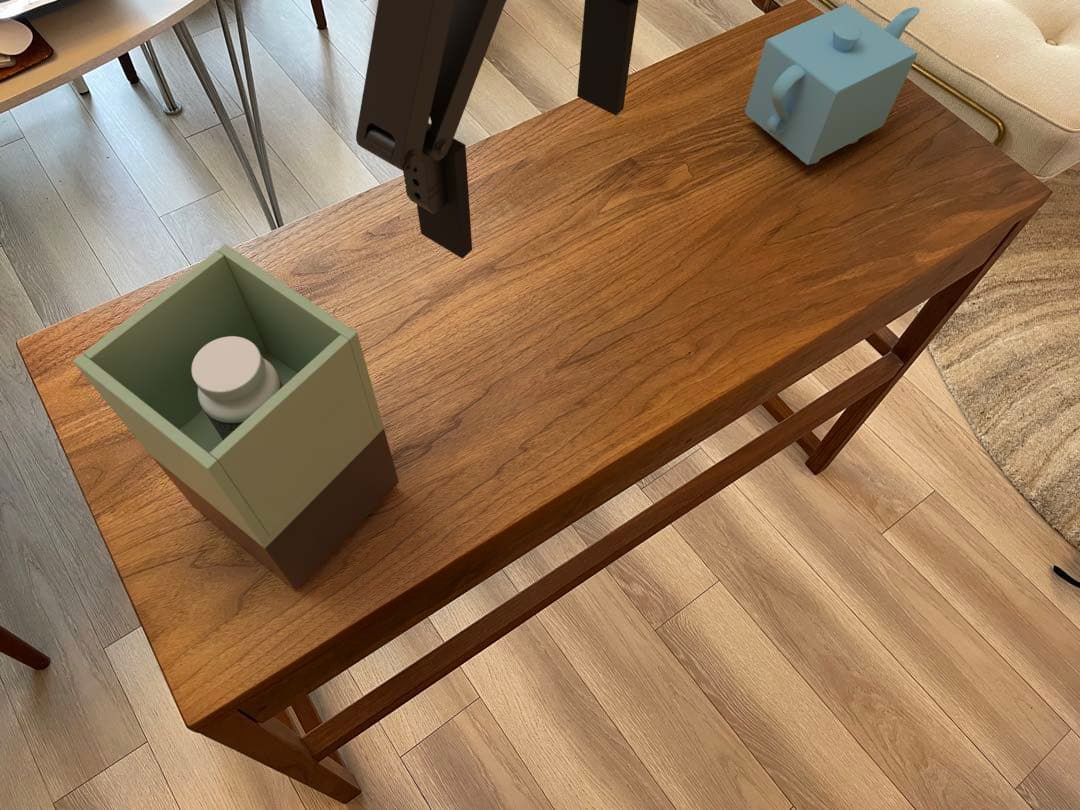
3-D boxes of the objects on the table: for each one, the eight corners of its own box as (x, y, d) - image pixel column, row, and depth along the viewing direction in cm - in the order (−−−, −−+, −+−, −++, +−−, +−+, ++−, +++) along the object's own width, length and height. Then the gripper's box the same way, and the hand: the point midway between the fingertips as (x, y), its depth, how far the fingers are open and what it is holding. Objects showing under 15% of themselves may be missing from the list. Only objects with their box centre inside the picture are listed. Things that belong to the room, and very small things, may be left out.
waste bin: (296, 592, 68) (207, 469, 48) (193, 506, 71) (71, 360, 52) (399, 482, 73) (357, 332, 54) (298, 408, 77) (225, 243, 57)
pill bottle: (315, 439, 63) (284, 369, 54) (251, 480, 61) (208, 414, 52) (277, 392, 65) (242, 317, 57) (214, 430, 63) (167, 358, 55)
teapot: (786, 185, 95) (825, 85, 83) (724, 132, 100) (752, 30, 88) (910, 119, 102) (962, 18, 90) (847, 73, 107) (888, -29, 95)
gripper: (653, -471, 31) (601, 31, 49) (128, -278, 20) (310, 275, 38) (827, -430, 29) (706, 79, 47) (344, -189, 18) (429, 353, 36)
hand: (528, 168), depth 43 cm, fingers open, 13 cm apart
